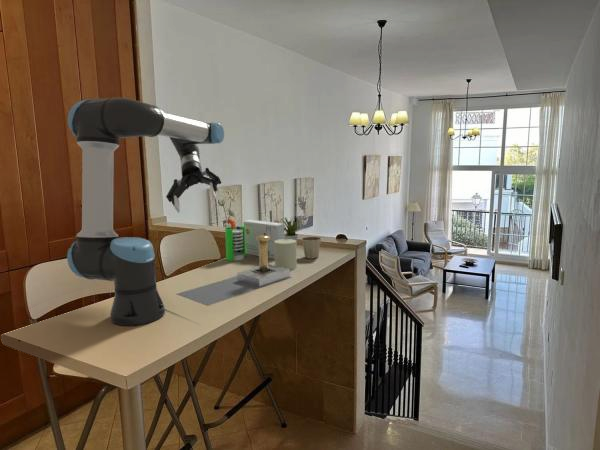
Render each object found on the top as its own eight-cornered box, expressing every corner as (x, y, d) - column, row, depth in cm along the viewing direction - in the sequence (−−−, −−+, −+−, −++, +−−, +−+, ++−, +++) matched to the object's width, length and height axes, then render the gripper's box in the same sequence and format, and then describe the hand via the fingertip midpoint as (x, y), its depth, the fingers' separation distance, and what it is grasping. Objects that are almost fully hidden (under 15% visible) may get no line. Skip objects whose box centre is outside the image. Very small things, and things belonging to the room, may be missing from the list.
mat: (207, 307, 138) (207, 305, 138) (176, 295, 150) (176, 293, 150) (292, 278, 166) (292, 277, 166) (260, 270, 178) (259, 269, 178)
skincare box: (244, 254, 208) (242, 221, 205) (251, 251, 212) (250, 219, 209) (278, 260, 195) (277, 224, 192) (285, 257, 199) (284, 223, 197)
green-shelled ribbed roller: (238, 261, 194) (236, 221, 191) (222, 260, 196) (220, 220, 193) (247, 256, 202) (246, 218, 199) (232, 255, 205) (230, 217, 202)
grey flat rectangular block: (259, 287, 155) (259, 278, 155) (237, 280, 163) (237, 272, 163) (290, 276, 167) (290, 268, 166) (268, 271, 175) (268, 263, 174)
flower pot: (298, 255, 202) (298, 237, 200) (317, 253, 205) (317, 235, 203) (304, 260, 193) (304, 241, 192) (325, 258, 196) (324, 239, 194)
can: (298, 265, 185) (297, 237, 183) (295, 271, 176) (295, 242, 174) (276, 265, 186) (275, 237, 184) (273, 271, 177) (272, 242, 175)
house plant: (270, 249, 216) (269, 216, 214) (280, 243, 229) (279, 212, 227) (297, 250, 212) (296, 217, 209) (306, 244, 225) (305, 213, 222)
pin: (263, 281, 162) (262, 238, 159) (254, 279, 165) (253, 236, 162) (273, 278, 165) (272, 236, 163) (264, 276, 169) (263, 234, 166)
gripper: (225, 165, 171) (232, 198, 156) (165, 187, 171) (166, 222, 156) (218, 149, 166) (225, 182, 150) (156, 172, 165) (157, 207, 150)
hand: (195, 203), depth 153 cm, fingers open, 13 cm apart
